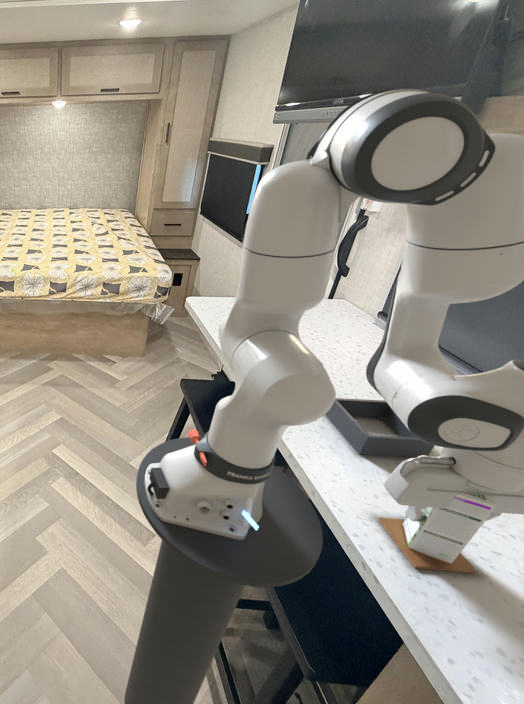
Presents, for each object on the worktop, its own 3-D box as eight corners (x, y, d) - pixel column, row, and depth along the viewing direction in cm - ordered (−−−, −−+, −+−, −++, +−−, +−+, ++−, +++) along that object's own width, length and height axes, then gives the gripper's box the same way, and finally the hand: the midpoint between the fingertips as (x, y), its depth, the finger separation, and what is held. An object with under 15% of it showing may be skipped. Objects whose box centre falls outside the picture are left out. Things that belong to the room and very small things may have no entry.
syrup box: (452, 565, 65) (501, 506, 58) (405, 547, 68) (447, 489, 61) (443, 537, 69) (488, 479, 62) (399, 522, 72) (437, 465, 65)
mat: (414, 568, 65) (415, 565, 65) (377, 519, 73) (378, 517, 73) (474, 573, 64) (476, 571, 64) (430, 523, 72) (432, 521, 72)
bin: (358, 454, 87) (367, 437, 85) (324, 413, 99) (331, 397, 97) (426, 458, 86) (437, 441, 83) (383, 416, 98) (391, 400, 95)
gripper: (426, 471, 58) (386, 532, 64) (586, 482, 55) (528, 544, 62) (395, 440, 63) (361, 499, 70) (540, 449, 61) (491, 509, 67)
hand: (441, 520), depth 66 cm, fingers closed on syrup box, 7 cm apart
